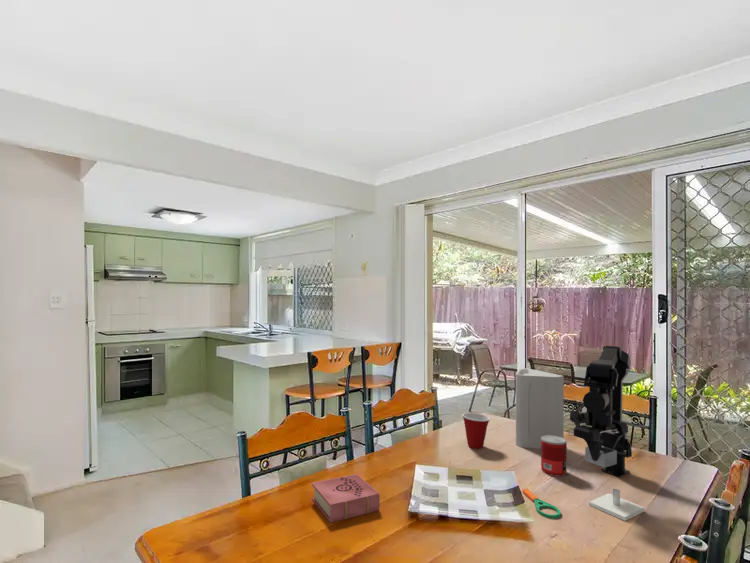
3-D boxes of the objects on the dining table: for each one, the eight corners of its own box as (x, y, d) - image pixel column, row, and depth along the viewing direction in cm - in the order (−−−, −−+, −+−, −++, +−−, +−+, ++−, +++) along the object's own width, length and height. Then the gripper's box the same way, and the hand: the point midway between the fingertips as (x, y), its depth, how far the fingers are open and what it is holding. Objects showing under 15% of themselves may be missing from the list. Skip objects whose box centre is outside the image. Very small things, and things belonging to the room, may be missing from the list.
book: (331, 525, 113) (331, 505, 113) (311, 500, 126) (312, 482, 126) (380, 512, 119) (380, 494, 120) (356, 490, 133) (356, 473, 133)
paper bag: (500, 438, 180) (501, 370, 181) (527, 433, 187) (527, 368, 188) (537, 454, 163) (537, 379, 164) (564, 448, 170) (564, 376, 171)
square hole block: (597, 457, 133) (597, 444, 134) (616, 463, 128) (616, 450, 128) (585, 460, 130) (585, 447, 130) (604, 467, 125) (604, 453, 125)
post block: (608, 496, 130) (608, 479, 130) (644, 511, 121) (644, 492, 121) (589, 505, 124) (589, 487, 124) (625, 521, 116) (625, 501, 116)
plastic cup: (496, 449, 168) (496, 418, 168) (472, 452, 164) (472, 420, 164) (479, 440, 178) (479, 410, 178) (456, 443, 174) (456, 413, 174)
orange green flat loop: (565, 518, 117) (565, 512, 117) (545, 521, 116) (545, 514, 116) (534, 493, 132) (534, 487, 132) (515, 495, 131) (515, 489, 131)
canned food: (568, 477, 143) (568, 443, 143) (543, 475, 145) (543, 441, 145) (563, 468, 150) (563, 436, 151) (539, 466, 152) (539, 434, 152)
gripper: (594, 396, 142) (594, 445, 141) (557, 403, 132) (557, 455, 131) (629, 404, 132) (629, 456, 131) (592, 411, 122) (592, 468, 122)
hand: (601, 458), depth 129 cm, fingers closed on square hole block, 6 cm apart
